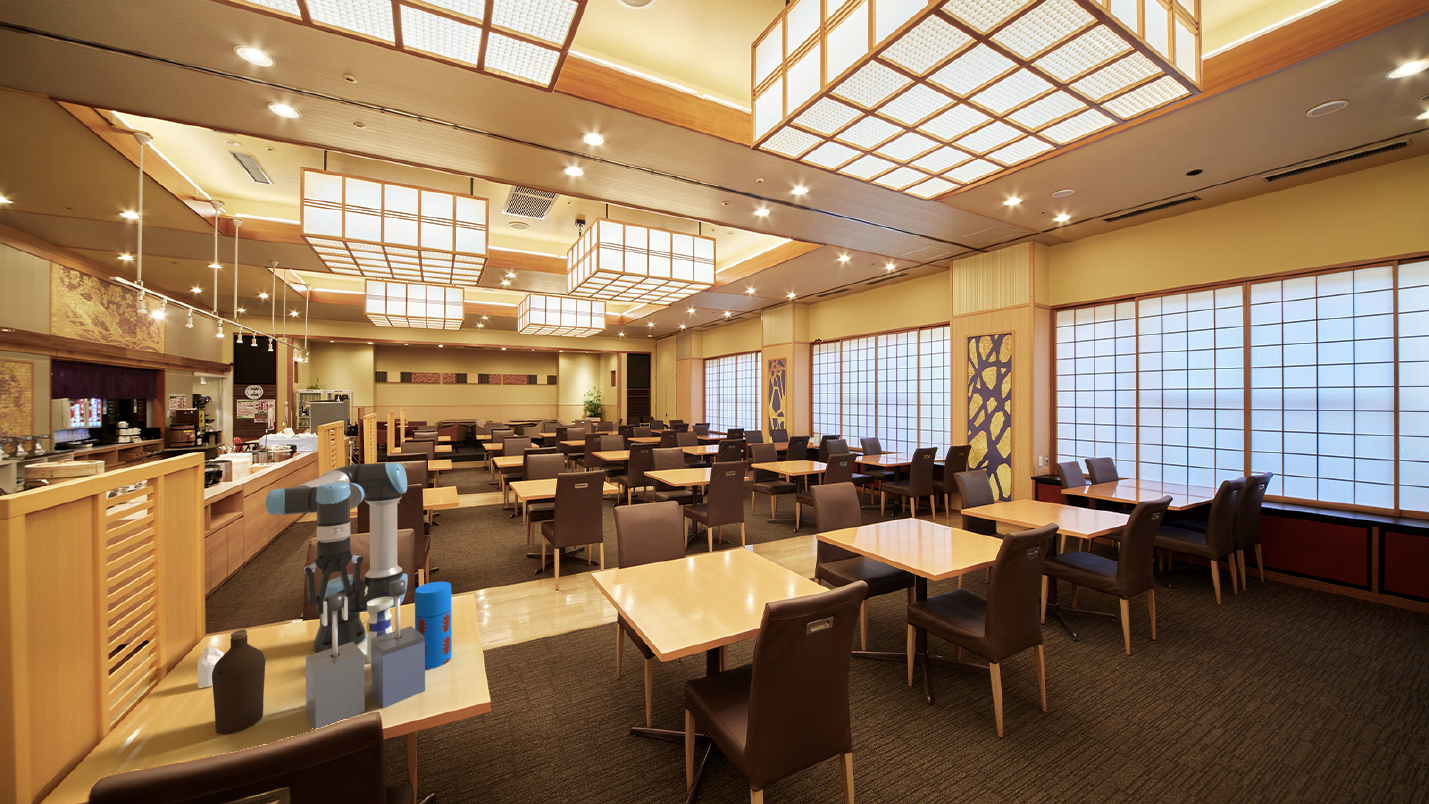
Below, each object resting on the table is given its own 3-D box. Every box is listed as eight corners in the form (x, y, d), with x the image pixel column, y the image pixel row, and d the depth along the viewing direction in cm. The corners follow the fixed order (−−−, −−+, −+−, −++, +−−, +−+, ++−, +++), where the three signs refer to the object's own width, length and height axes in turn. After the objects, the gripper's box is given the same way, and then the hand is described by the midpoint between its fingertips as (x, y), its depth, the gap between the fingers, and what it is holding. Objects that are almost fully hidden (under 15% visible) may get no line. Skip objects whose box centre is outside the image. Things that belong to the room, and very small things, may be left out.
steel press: (303, 709, 142) (302, 651, 142) (349, 691, 150) (349, 637, 150) (315, 731, 132) (315, 670, 132) (364, 711, 141) (364, 654, 141)
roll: (227, 639, 159) (219, 647, 154) (227, 677, 159) (219, 686, 154) (202, 643, 156) (193, 652, 151) (202, 681, 156) (193, 691, 151)
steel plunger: (312, 668, 140) (312, 596, 139) (348, 656, 146) (348, 587, 146) (320, 678, 134) (319, 604, 134) (357, 666, 140) (356, 595, 140)
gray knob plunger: (377, 649, 150) (376, 582, 149) (408, 638, 156) (407, 575, 156) (386, 658, 144) (385, 589, 144) (418, 647, 151) (417, 581, 150)
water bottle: (367, 666, 165) (366, 591, 165) (363, 656, 171) (363, 584, 171) (396, 657, 170) (395, 585, 170) (391, 648, 177) (391, 578, 176)
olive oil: (258, 728, 134) (257, 636, 134) (205, 741, 129) (204, 645, 129) (271, 706, 143) (270, 620, 143) (221, 718, 138) (220, 628, 138)
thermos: (435, 671, 162) (434, 594, 161) (407, 667, 164) (406, 592, 164) (459, 654, 172) (458, 582, 172) (432, 651, 174) (431, 580, 174)
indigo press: (367, 688, 152) (366, 634, 152) (407, 673, 161) (406, 622, 160) (383, 708, 142) (382, 650, 142) (425, 690, 151) (424, 636, 151)
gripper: (297, 548, 131) (298, 636, 131) (373, 534, 144) (374, 615, 144) (291, 542, 136) (292, 628, 136) (365, 530, 149) (366, 608, 149)
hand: (334, 621), depth 140 cm, fingers closed on steel plunger, 4 cm apart
